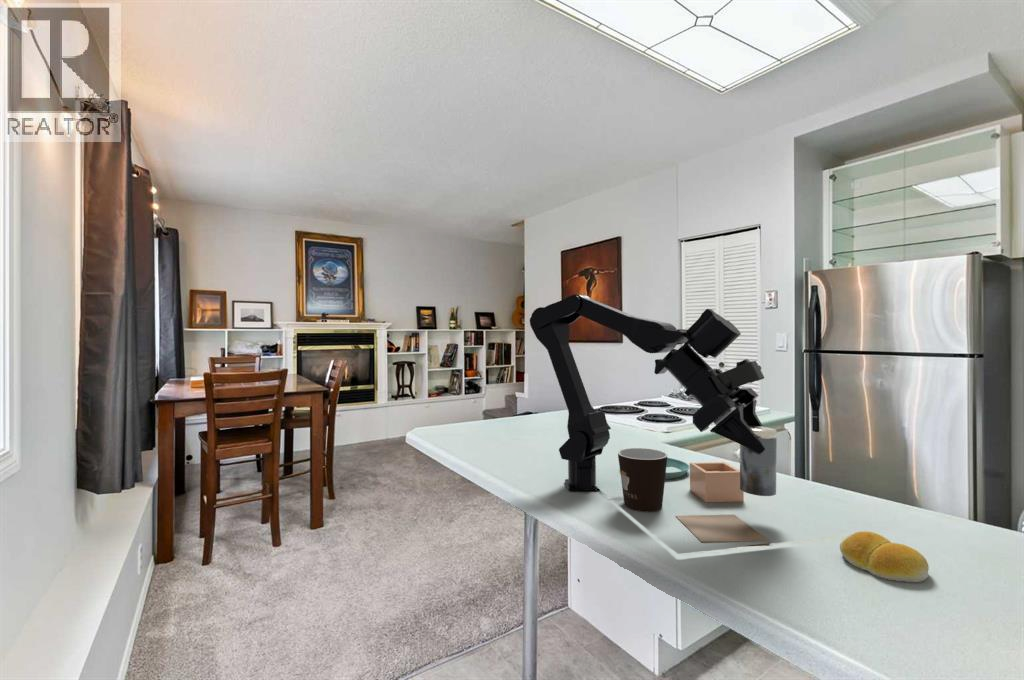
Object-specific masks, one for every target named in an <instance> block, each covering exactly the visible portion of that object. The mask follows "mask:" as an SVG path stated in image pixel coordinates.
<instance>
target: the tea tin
mask: <svg viewBox="0 0 1024 680" xmlns="http://www.w3.org/2000/svg"><path fill="white" fill-rule="evenodd" d="M749 427H750V429H751V430H752V431H753V433H754V434H755V435H756V437H757V438H758V439H759V441H760V442H761V443H762V445H763V446H764V448H765V450H764V451H763V452H762V453H757V452H755V451H753V450H751V449H749V448H747V447H745V446H743V445H741V444H739V470H740V490H742V491H743V492H744V493H746V494H749V495H753V496H758V497H771V496H775V495H777V447H778V446H777V434H778V431H777V429H774V428H771V427H766V426H763V427H760V426H749Z"/></svg>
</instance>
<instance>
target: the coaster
mask: <svg viewBox="0 0 1024 680" xmlns="http://www.w3.org/2000/svg"><path fill="white" fill-rule="evenodd" d="M675 518H676V519H678V521H680V523H681V524H682V525H683V526H685V528H687V530H688V531H689V532H690V533H691V534H692V535H693V536H694V537H695V538H697V540H698V541H700V543H703V544H706V543H740V542H741V543H742V542H743V543H745V542H747V543H749V542H750V543H751V542H752V543H753V542H755V543H756V542H767V543H758V544H750V545H747V547H765V546H766V547H767V546H770V539H768V538H766V537H765V536H764V535H763V534H761V533H760V532H759V531H757V530H756V529H754V528H753V527H752V526H751V525H750V524H748V523H747V522H746V521H744V520H742V519H741V518H740V517H738V516H737V515H736V514H706V515H705V514H697V515H695V514H694V515H690V514H689V515H675Z"/></svg>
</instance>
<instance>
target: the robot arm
mask: <svg viewBox="0 0 1024 680" xmlns="http://www.w3.org/2000/svg"><path fill="white" fill-rule="evenodd" d="M581 317H583V318H585V319H587V320H589V321H593V322H594V323H597V324H599V325H602V326H603V327H606V328H608V329H611V330H613V331H615V332H616V333H617V332H618V333H619V334H622V335H623V336H624V337H626V339H628V341H629V342H630V343H632V344H633V345H635V346H636V347H638V348H639V349H640V350H642V351H643V352H645V353H647V354H663V353H664V354H665V353H666V355H665V356H664V357H663V358H662V359H661V358H658V359H655V360H654V363H655V364H654V374H655V375H661V374H665V373H666V372H667V371H668V373H670V374H671V375H672V376H673V377H674V378H675V380H676V381H677V382H679V384H680V385H681V386H682V387H683V388H684V389H685V390H684V392H683V393H684V394H685V395H686V396H687V397H692V398H693V399H694V400H696V402H697V403H698V404H699V405H700V406H701V407H700V408H698V410H697V411H695V412H694V413H693V414H692V424H693V425H694V426H695V427H696V428H697V429H698V430H699V432H700V433H702V432H705V431H707V430H709V428H710V427H709V426H710V425H712V424H713V423H714V425H715V426H713V427H712V428H711V429H710V430H709V431H710V433H712V434H713V433H714V434H716V435H719V436H720V437H724V438H726V439H727V440H730V441H733V442H734V443H736V444H739V445H740V444H741V445H743V446H745V447H747V448H749V449H751V450H753V451H755V452H757V453H762V452H763V451H764V450H765V448H764V446H763V445H762V443H761V442H760V441H759V439H758V438H757V437H756V435H755V434H754V433H753V431H752V430H751V429H750V427H749V426H760V427H764V425H763V424H762V422H761V421H760V420H761V419H759V417H758V415H757V413H756V408H757V402H758V401H757V398H758V397H759V394H758V393H757V392H756V391H755V390H753V388H752V387H744V385H747V384H752V383H754V382H758V381H761V380H763V379H765V375H764V374H763V372H762V366H761V365H759V364H758V363H757V361H756V360H752V361H750V360H749V359H748V358H746V359H745V358H744V359H743V360H741V361H737V362H736V367H733V368H730V369H727V370H726V371H724V372H723V371H722V370H721V369H720V368H712V367H711V365H709V363H708V362H706V361H705V360H704V359H703V358H705V359H708V357H709V356H710V357H712V358H715V359H716V358H718V356H719V355H721V353H723V352H724V351H725V350H726V349H727V348H729V346H730V345H732V343H733V342H734V341H736V339H738V338H739V337H740V336H741V334H742V333H741V331H740V330H739V329H738V328H737V327H736V326H735V325H734V323H732V322H731V321H729V320H726V319H725V318H724V317H723V316H721V315H720V314H718V313H716V312H715V311H714V310H713V309H711V308H706V309H705V310H704V311H702V313H701V314H700V316H699V317H698V319H697V320H696V321H695V322H694V323H693V324H692V325H691V326H690V327H689V328H688V329H684V328H683V329H682V328H677V327H676V326H674V325H673V324H671V323H669V322H664V321H660V320H655V319H649V318H643V317H639V316H634V315H633V314H629V313H627V312H624V311H623V310H619V309H617V308H616V307H615V308H614V307H612V306H609V305H607V304H605V303H602V302H599V301H597V300H595V299H592V298H591V297H589V296H588V295H585V294H576V293H575V294H572V295H569V296H567V297H566V298H564V299H561V300H558V301H556V302H553V303H551V304H550V303H549V304H548V305H546V306H545V307H543V306H542V307H541V306H540V307H537V308H535V309H534V310H533V312H532V313H531V316H530V318H529V326H530V328H531V329H532V331H533V334H534V335H535V338H536V339H537V340H538V342H540V344H541V345H542V346H543V347H545V349H546V350H547V352H548V356H549V359H550V362H551V365H552V368H553V371H554V374H555V377H556V379H557V382H558V385H559V388H560V390H561V394H562V396H563V399H564V400H563V401H564V402H565V405H566V408H567V411H568V418H567V434H568V439H567V440H566V441H565V442H564V443H563V444H562V445H561V446H560V447H559V448H558V452H559V456H560V458H561V460H565V461H567V471H568V472H567V473H568V477H567V479H564V483H565V485H566V487H567V489H568V491H569V492H570V491H571V492H573V491H575V492H577V491H580V492H582V491H600V490H601V489H600V488H599V487H598V486H596V485H597V469H596V467H597V465H596V462H597V460H596V459H597V456H600V455H602V453H603V450H604V447H606V446H607V445H608V443H609V440H610V438H611V435H610V431H609V430H611V429H612V428H611V426H610V425H609V424H608V421H607V418H606V414H605V412H604V410H599V411H597V410H596V409H594V407H593V406H592V404H591V402H590V399H589V396H588V393H587V391H586V388H585V386H584V383H583V380H582V378H581V374H580V371H579V368H578V366H577V363H576V360H575V357H574V355H573V352H572V349H571V346H570V344H569V341H570V333H571V329H570V328H571V327H570V325H571V324H573V323H575V322H576V321H578V319H580V318H581ZM678 345H682V346H680V348H678V349H676V347H677V346H678ZM701 356H702V357H703V358H702V357H701ZM741 386H743V387H741Z"/></svg>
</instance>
